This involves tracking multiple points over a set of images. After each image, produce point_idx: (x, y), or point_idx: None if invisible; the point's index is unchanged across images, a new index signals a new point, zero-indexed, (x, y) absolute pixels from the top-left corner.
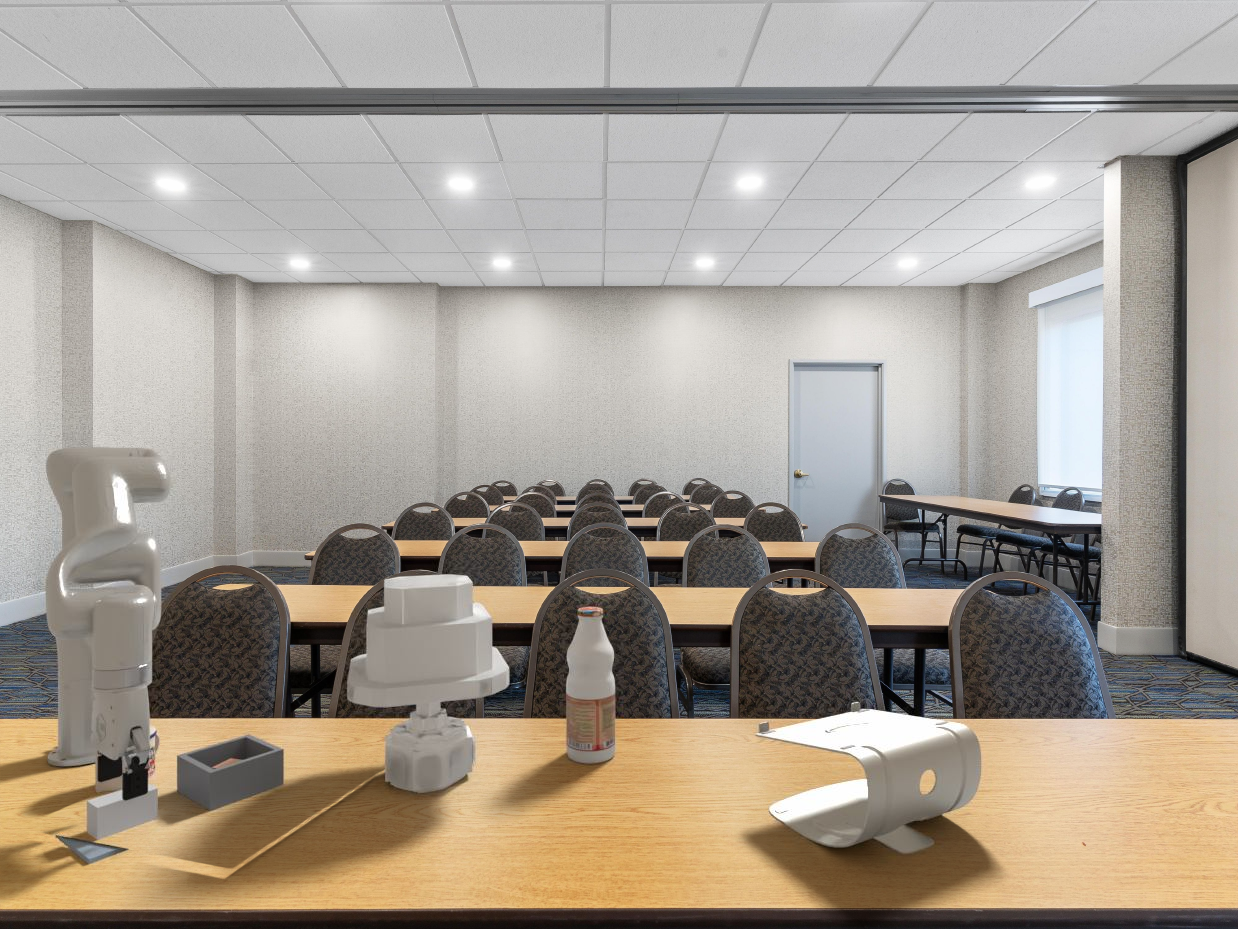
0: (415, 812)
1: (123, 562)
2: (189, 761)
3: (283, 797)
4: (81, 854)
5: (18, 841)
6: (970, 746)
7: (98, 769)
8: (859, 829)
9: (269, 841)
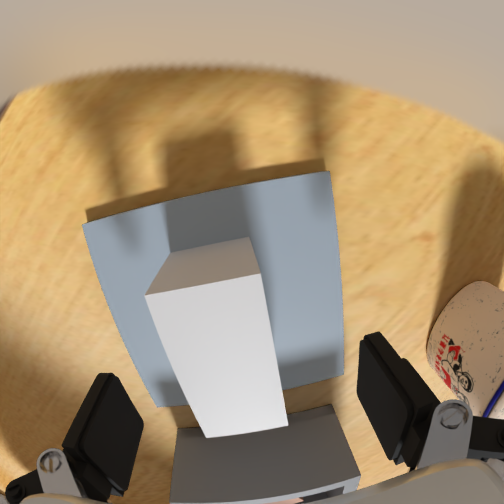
0: None
1: None
2: (290, 494)
3: None
4: (127, 211)
5: (363, 101)
6: None
7: (392, 365)
8: None
9: (51, 431)
